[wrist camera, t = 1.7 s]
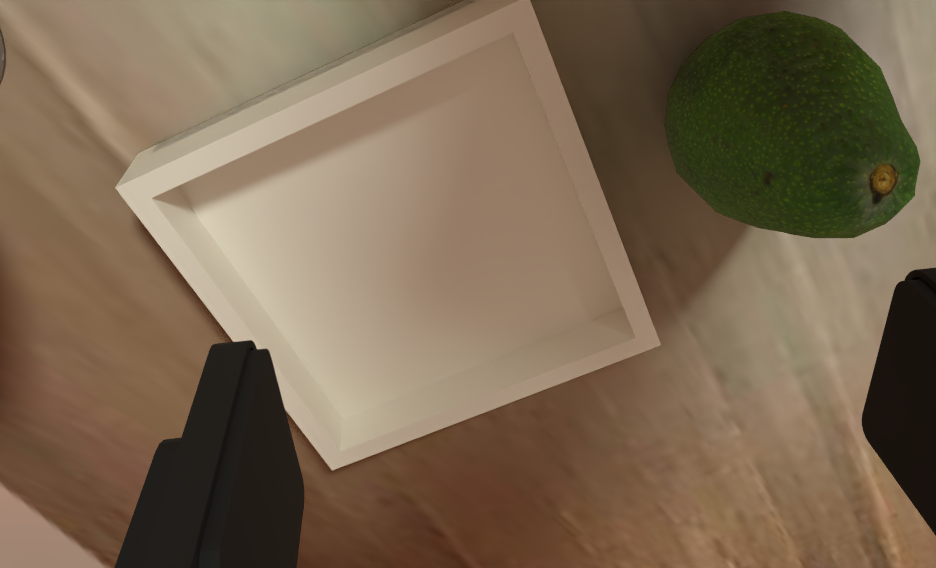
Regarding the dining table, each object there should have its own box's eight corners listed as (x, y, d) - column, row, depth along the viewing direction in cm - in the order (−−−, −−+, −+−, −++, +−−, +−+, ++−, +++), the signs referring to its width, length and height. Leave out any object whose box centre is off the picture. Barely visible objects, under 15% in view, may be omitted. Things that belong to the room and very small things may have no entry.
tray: (516, -25, 32) (528, -5, 29) (642, 305, 42) (661, 345, 39) (138, 153, 35) (115, 187, 32) (336, 424, 45) (332, 470, 42)
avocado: (822, 129, 37) (982, 262, 27) (659, 184, 38) (754, 332, 28) (807, -42, 33) (988, 39, 23) (622, 23, 34) (719, 130, 24)
